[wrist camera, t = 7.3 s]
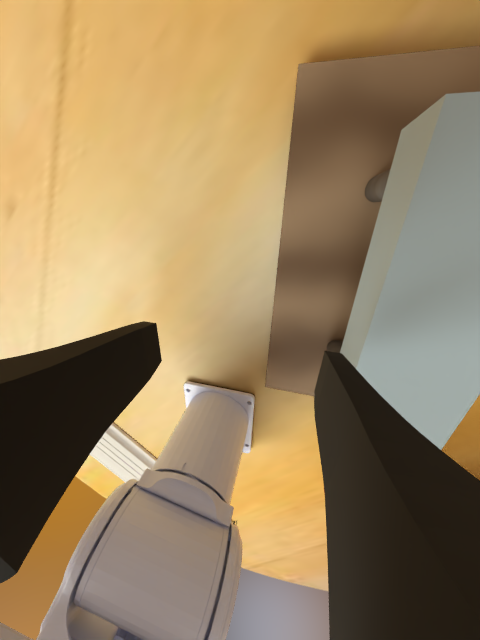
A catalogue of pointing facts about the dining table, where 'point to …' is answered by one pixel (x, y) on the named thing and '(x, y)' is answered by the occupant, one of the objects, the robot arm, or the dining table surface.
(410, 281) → the pale grey block
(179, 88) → the dining table surface
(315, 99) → the brown slab
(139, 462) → the baseboard molding
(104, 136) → the dining table surface
